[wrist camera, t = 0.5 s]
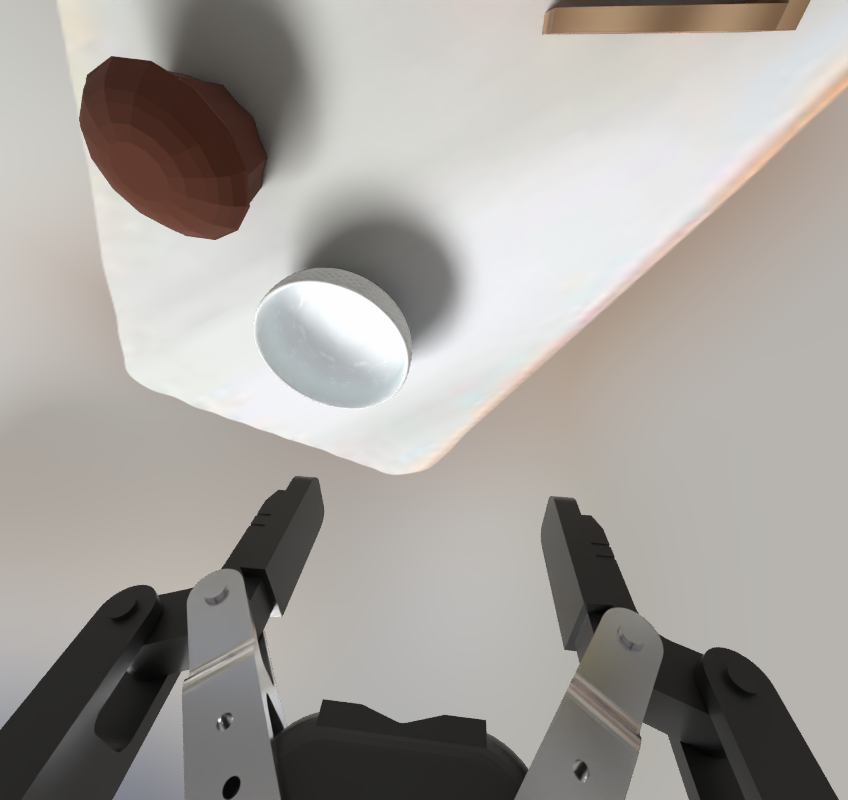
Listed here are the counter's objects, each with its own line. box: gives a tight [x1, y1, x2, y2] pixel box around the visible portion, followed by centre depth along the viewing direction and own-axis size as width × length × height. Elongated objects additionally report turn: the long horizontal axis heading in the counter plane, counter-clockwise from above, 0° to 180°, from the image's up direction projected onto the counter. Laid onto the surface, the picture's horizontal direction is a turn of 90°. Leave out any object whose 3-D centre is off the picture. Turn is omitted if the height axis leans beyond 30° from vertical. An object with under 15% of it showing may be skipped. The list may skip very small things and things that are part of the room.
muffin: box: [79, 56, 267, 240], centre depth 28 cm, size 12×11×10 cm
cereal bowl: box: [253, 267, 412, 409], centre depth 40 cm, size 17×17×7 cm
